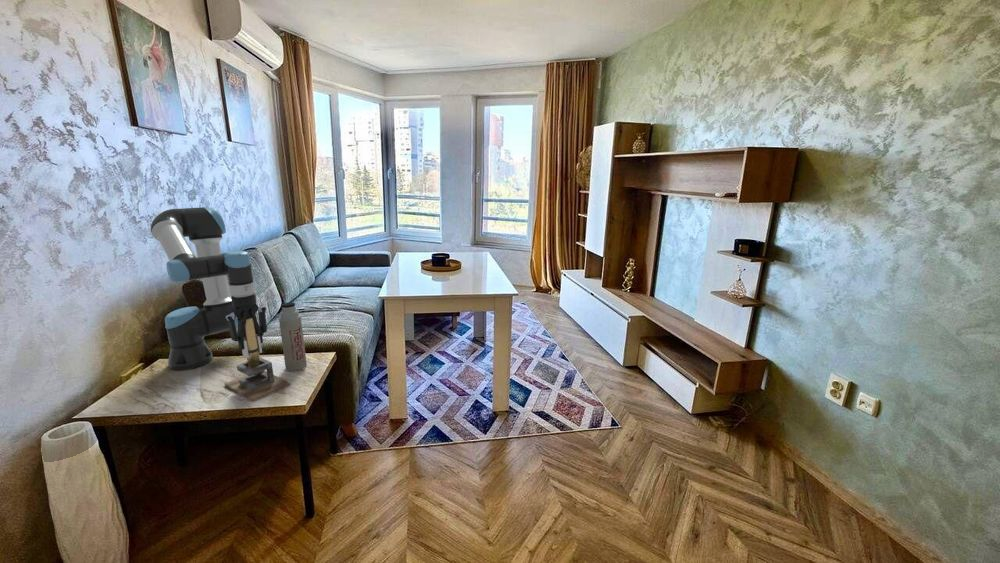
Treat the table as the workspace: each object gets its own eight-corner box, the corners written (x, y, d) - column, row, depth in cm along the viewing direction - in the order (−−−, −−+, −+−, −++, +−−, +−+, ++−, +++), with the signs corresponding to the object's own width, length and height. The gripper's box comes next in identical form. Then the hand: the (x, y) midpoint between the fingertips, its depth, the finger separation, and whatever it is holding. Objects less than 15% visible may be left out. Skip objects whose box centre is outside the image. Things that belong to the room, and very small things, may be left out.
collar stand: (224, 385, 155) (220, 364, 153) (261, 371, 167) (258, 351, 164) (252, 401, 145) (248, 378, 142) (290, 384, 156) (287, 363, 154)
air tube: (247, 373, 154) (238, 318, 148) (258, 369, 157) (249, 315, 151) (253, 376, 151) (244, 320, 146) (264, 371, 155) (255, 317, 149)
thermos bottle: (309, 367, 170) (301, 304, 163) (288, 373, 165) (279, 308, 158) (303, 361, 176) (296, 299, 169) (283, 366, 171) (274, 303, 164)
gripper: (222, 302, 137) (233, 365, 143) (272, 290, 151) (280, 348, 157) (211, 298, 141) (222, 360, 147) (261, 287, 155) (270, 344, 161)
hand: (252, 354), depth 152 cm, fingers closed on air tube, 4 cm apart
